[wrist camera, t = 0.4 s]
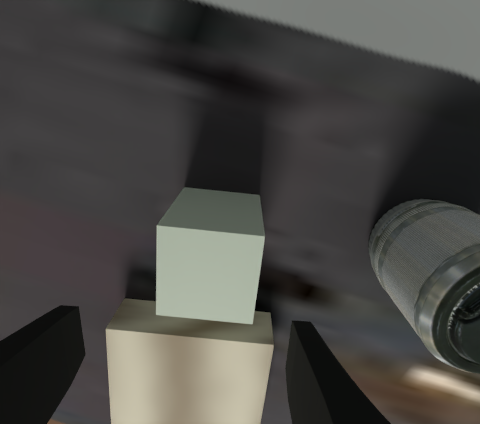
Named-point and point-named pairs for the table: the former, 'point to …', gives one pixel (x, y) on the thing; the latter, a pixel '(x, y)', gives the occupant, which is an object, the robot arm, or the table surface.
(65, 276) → the table surface
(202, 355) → the birch block
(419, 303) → the camera lens
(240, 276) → the sage block
